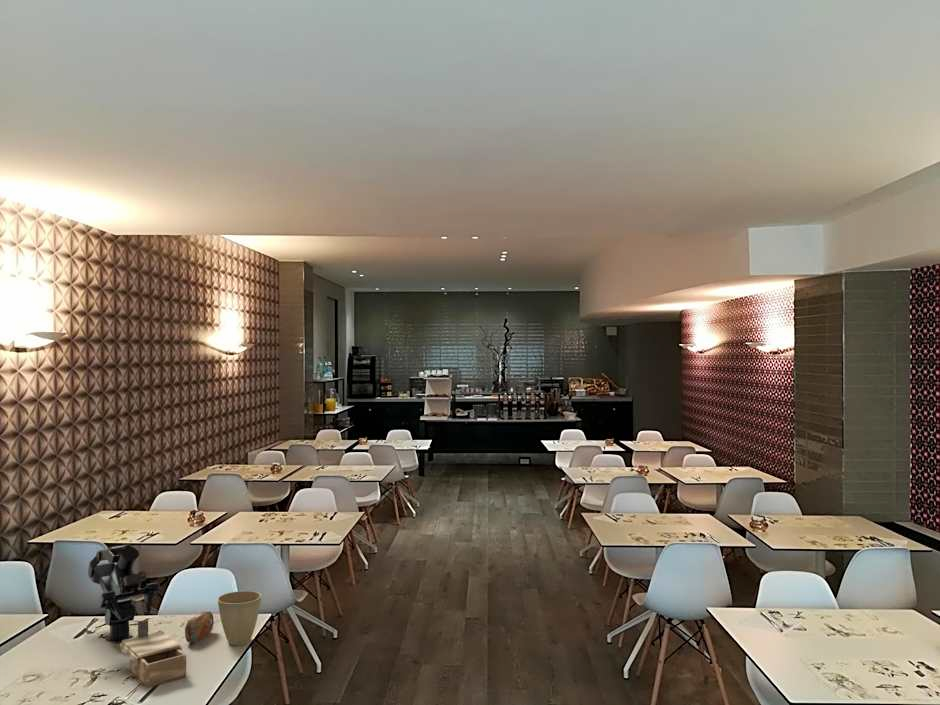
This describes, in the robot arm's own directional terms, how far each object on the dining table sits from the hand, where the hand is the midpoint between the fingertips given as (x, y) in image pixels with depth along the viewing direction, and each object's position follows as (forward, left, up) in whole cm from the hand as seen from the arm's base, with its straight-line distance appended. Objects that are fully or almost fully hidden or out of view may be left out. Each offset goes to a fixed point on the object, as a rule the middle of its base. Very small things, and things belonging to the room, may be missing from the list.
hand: (135, 616), depth 253 cm
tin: (+8, +20, -13) cm, 25 cm away
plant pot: (+24, +24, -13) cm, 36 cm away
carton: (+21, -8, -13) cm, 26 cm away
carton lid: (+15, -5, -7) cm, 17 cm away
